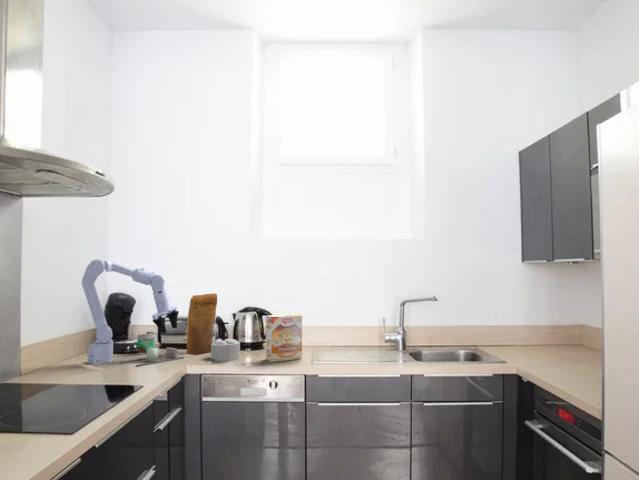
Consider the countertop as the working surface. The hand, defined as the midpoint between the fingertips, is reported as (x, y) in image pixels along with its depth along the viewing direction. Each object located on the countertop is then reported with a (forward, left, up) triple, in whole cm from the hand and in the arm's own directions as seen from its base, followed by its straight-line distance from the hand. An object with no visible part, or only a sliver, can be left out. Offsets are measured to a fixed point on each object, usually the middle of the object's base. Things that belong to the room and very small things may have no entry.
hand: (169, 330), depth 222 cm
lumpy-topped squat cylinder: (+14, -21, -13) cm, 28 cm away
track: (-10, -3, -12) cm, 16 cm away
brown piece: (-7, -3, -12) cm, 15 cm away
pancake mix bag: (+19, 0, -13) cm, 23 cm away
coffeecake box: (+30, -42, -13) cm, 53 cm away
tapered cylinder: (-11, -3, -11) cm, 16 cm away
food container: (+1, +16, -13) cm, 21 cm away
